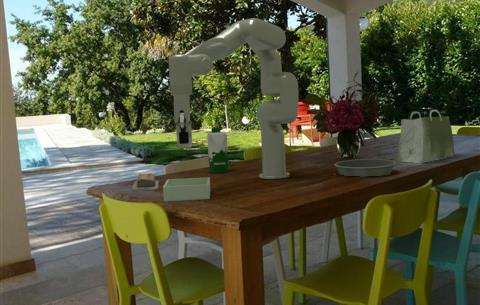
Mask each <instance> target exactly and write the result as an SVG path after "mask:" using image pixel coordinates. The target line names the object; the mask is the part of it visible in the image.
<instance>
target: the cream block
mask: <svg viewBox="0 0 480 305" xmlns="http://www.w3.org/2000/svg"><path fill="white" fill-rule="evenodd" d="M185 128H186V127H185ZM175 130H176V131H175V132H176V134H175V136H176V147H177V149H182V148H183V149H184V148H192V147H193V134H192V132H193V131H192V123H188V124H187V132H188V137H189V143H188V144H180V143H179V123H177V124H175Z"/></svg>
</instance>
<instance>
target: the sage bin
mask: <svg viewBox="0 0 480 305" xmlns="http://www.w3.org/2000/svg"><path fill="white" fill-rule="evenodd" d="M162 192H163V202H179V201H198V200H199V201H200V200H210V199H211V198H210V197H211V178H210V176H208V177H190V178H172V179H170V178H169V179H167V180H166V181H165V182H164V184H163V187H162Z"/></svg>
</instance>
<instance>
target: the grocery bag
mask: <svg viewBox="0 0 480 305" xmlns="http://www.w3.org/2000/svg"><path fill="white" fill-rule="evenodd" d="M433 112H436V113H437V114H438V116H432V113H433ZM415 114H417V115H418V116H419V118H413V115H415ZM398 142H399V143H398V147H397V154H396V158H395V162H396V161H400V162H414V163H424V162H427V161H431V160H435V159H440V158H446V159H448V158H447V157H449V158H451V157H450V156H452V157H454V156H455V144H454V142H455V141H454V136H453V130H452V125H451V121H450V117H449V115H448V116H442V115H441V113H440V111H438V109H431V110H430V111H429V116H423V117H421V112H420V111H412V112H411V113H410V117H409V118H403V119H401V120H400V134H399V141H398ZM453 155H454V156H453Z"/></svg>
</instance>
